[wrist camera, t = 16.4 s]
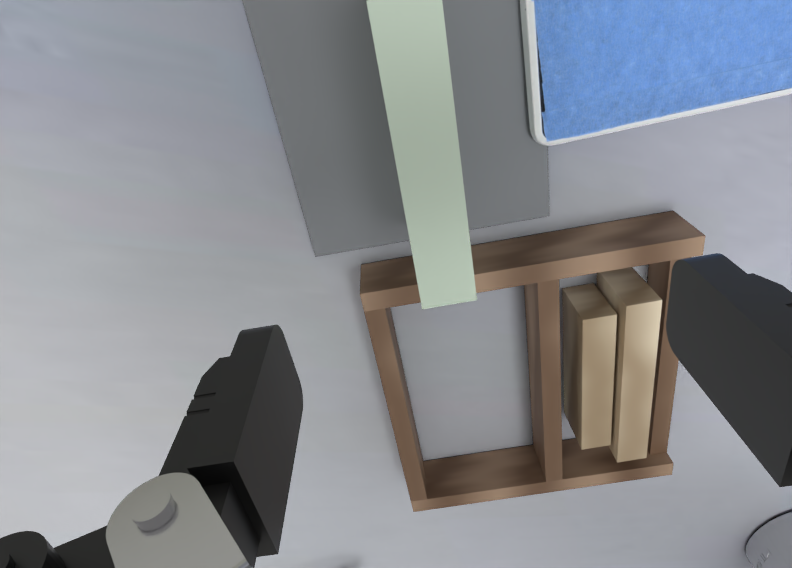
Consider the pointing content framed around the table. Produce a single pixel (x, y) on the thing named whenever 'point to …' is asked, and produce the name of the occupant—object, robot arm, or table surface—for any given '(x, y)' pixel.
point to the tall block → (425, 144)
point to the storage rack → (533, 359)
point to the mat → (368, 124)
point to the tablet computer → (648, 61)
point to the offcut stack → (611, 361)
